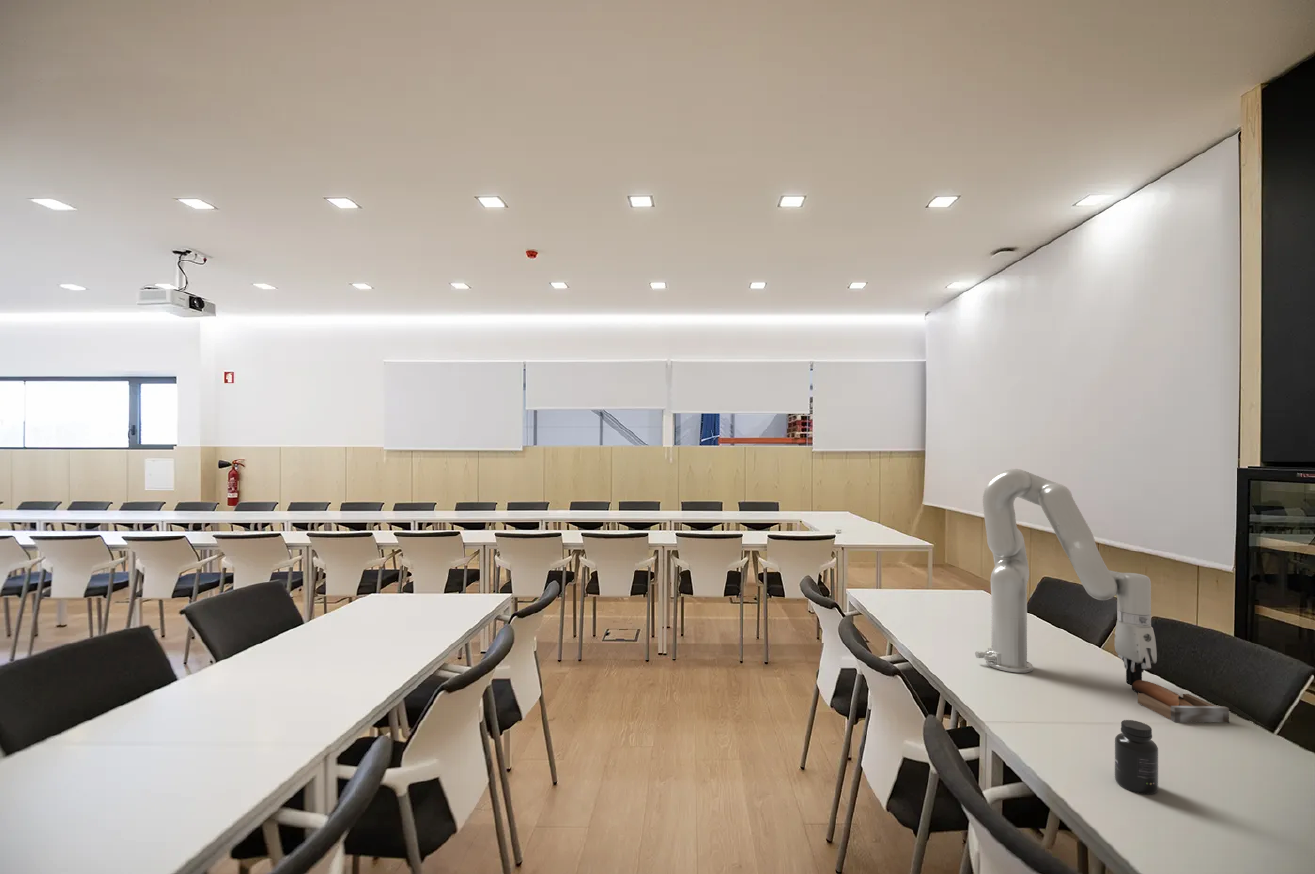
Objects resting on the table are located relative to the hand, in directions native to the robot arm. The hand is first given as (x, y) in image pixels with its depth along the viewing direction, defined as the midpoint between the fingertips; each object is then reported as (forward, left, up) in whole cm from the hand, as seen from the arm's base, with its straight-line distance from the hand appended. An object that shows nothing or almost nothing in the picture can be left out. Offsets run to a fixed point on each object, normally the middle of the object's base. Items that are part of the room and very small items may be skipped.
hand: (1134, 684), depth 176 cm
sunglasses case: (+1, -11, -2) cm, 11 cm away
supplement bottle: (-39, -52, -1) cm, 65 cm away
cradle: (0, -16, -1) cm, 16 cm away
